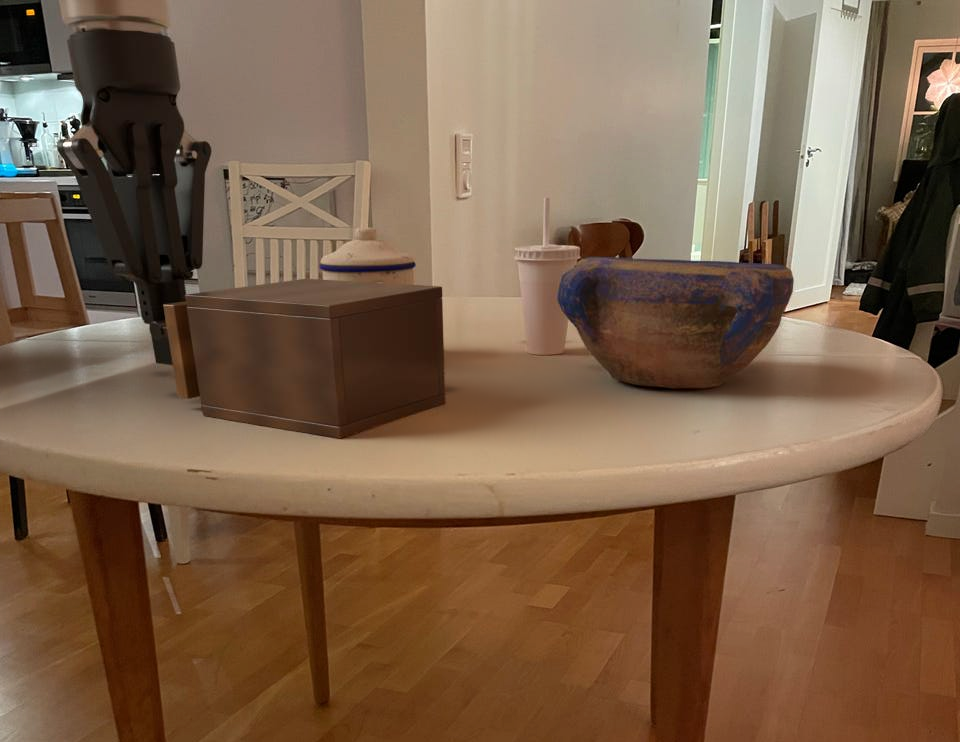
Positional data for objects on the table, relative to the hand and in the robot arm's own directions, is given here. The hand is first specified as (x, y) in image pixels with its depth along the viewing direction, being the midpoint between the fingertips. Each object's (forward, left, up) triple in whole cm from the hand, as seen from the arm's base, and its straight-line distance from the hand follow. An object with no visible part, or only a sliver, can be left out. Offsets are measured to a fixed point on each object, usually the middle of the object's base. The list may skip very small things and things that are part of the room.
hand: (173, 362), depth 78 cm
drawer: (+10, -3, -1) cm, 11 cm away
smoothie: (+26, +24, -2) cm, 36 cm away
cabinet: (+16, -5, -2) cm, 17 cm away
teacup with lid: (+11, +16, -2) cm, 20 cm away
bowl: (+40, +13, -2) cm, 43 cm away
